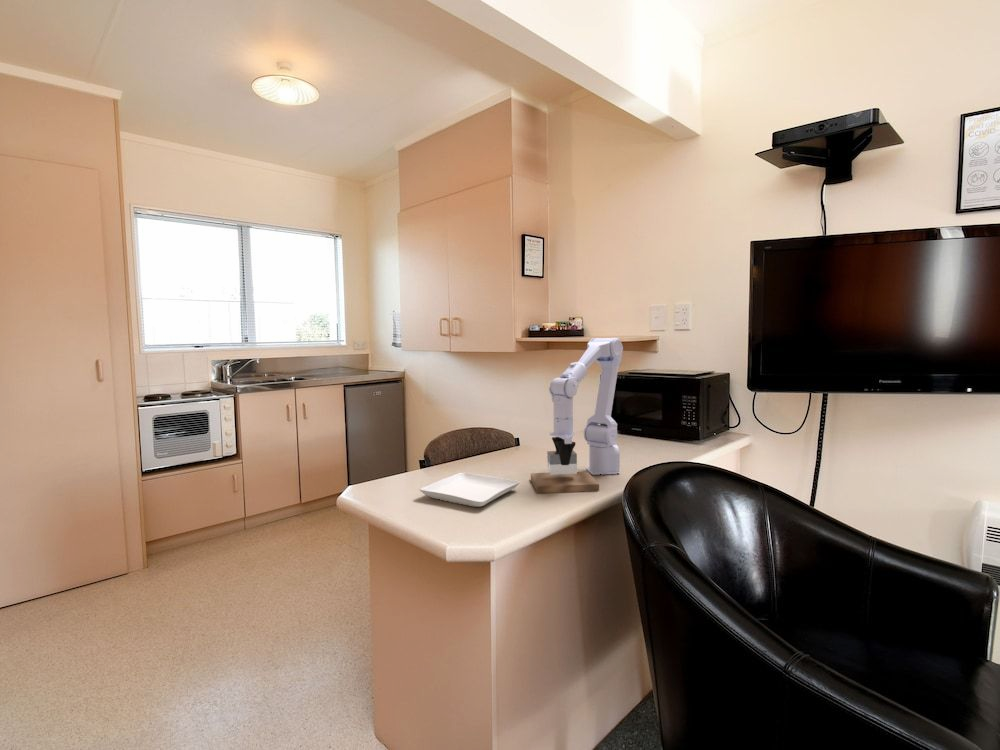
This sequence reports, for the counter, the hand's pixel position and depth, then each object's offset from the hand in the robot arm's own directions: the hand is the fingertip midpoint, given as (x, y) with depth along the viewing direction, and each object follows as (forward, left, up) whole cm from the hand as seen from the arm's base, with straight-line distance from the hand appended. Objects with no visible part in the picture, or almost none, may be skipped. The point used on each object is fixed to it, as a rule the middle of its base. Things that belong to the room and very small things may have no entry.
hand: (563, 462), depth 149 cm
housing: (0, 0, -3) cm, 3 cm away
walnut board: (0, 0, -7) cm, 7 cm away
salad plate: (+28, +6, -7) cm, 30 cm away
